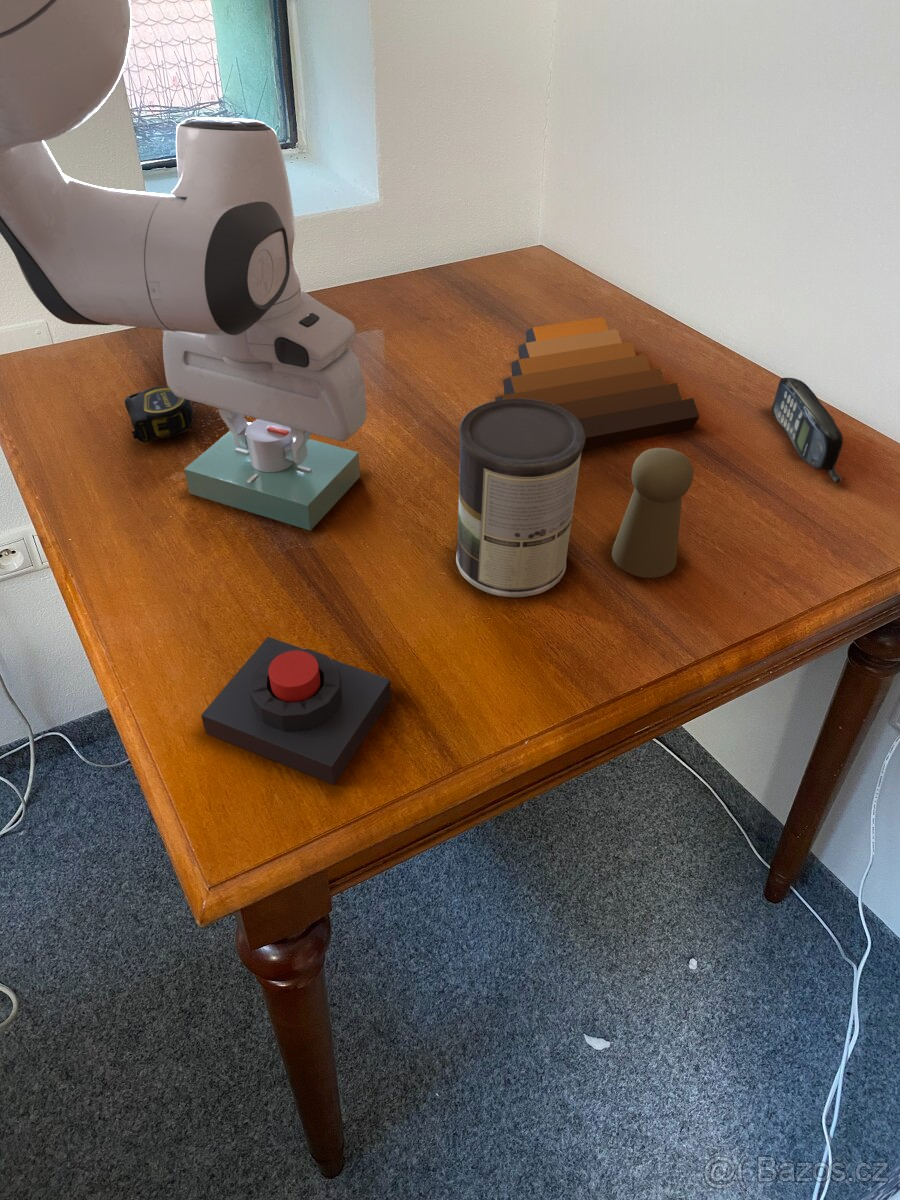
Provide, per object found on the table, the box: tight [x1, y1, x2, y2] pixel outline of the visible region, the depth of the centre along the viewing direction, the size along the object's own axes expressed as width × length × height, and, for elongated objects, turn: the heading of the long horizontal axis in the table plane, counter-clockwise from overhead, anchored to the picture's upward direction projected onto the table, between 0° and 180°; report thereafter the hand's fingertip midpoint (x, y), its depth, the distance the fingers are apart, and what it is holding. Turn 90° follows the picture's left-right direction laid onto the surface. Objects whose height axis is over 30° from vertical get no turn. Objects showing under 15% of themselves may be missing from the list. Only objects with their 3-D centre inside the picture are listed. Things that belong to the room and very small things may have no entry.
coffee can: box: [455, 398, 585, 598], centre depth 76 cm, size 10×10×14 cm
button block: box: [200, 636, 392, 786], centre depth 66 cm, size 11×9×4 cm
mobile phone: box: [771, 377, 844, 484], centre depth 95 cm, size 5×3×15 cm
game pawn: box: [610, 447, 694, 579], centre depth 78 cm, size 6×6×11 cm
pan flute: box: [494, 316, 700, 452], centre depth 102 cm, size 25×3×25 cm
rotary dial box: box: [183, 421, 361, 532], centre depth 88 cm, size 14×10×3 cm
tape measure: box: [124, 385, 195, 444], centre depth 95 cm, size 7×7×4 cm
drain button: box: [268, 651, 320, 702], centre depth 64 cm, size 4×4×2 cm
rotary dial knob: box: [245, 419, 293, 472], centre depth 86 cm, size 4×4×4 cm
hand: (271, 452), depth 86 cm, fingers closed on rotary dial knob, 4 cm apart
